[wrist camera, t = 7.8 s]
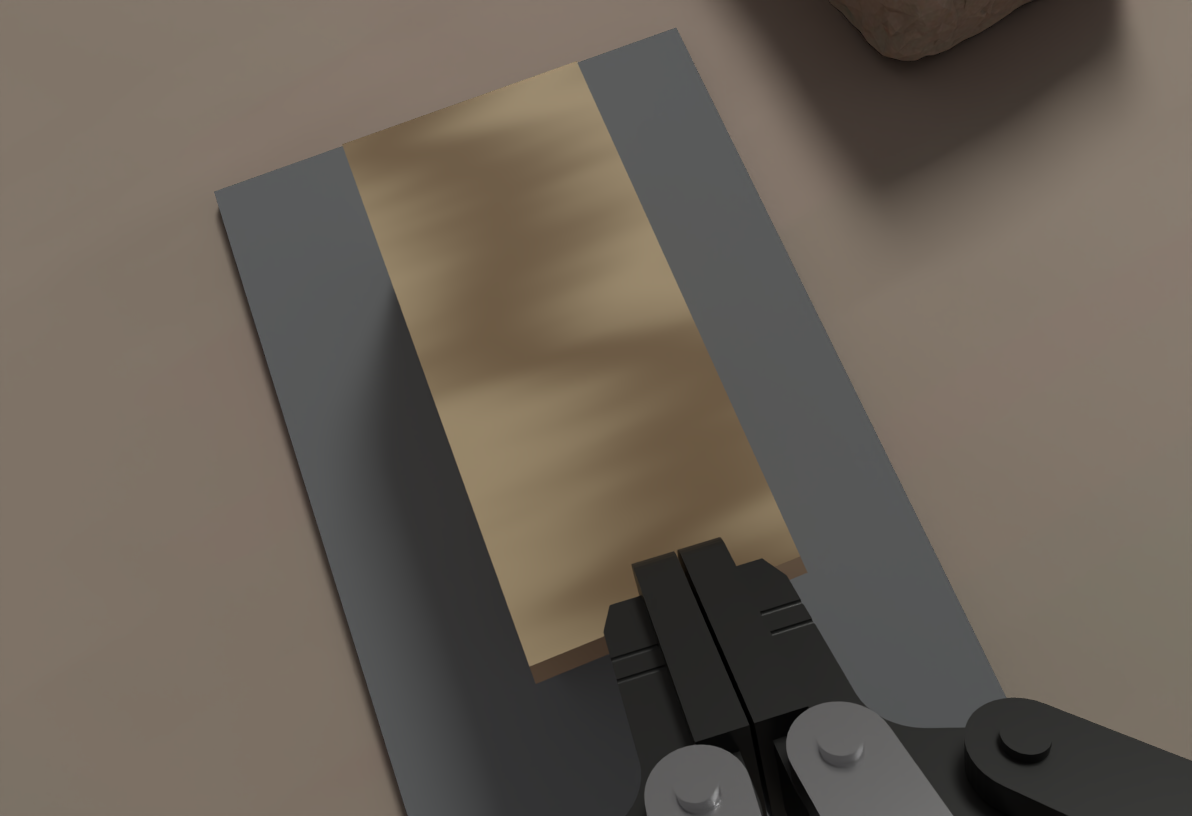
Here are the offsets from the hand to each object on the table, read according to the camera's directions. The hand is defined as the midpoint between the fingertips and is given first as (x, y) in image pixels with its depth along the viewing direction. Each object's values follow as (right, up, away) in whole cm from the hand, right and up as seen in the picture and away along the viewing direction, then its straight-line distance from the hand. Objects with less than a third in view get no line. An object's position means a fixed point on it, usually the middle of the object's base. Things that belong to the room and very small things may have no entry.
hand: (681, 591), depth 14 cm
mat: (-1, +1, +7) cm, 7 cm away
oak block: (0, -1, +3) cm, 4 cm away
